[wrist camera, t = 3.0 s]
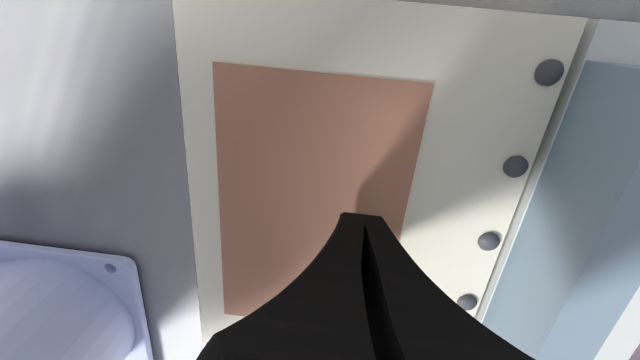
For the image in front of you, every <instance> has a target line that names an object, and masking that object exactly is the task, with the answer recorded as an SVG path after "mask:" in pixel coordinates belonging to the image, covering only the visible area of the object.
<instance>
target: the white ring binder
mask: <svg viewBox="0 0 640 360" xmlns="http://www.w3.org/2000/svg"><path fill="white" fill-rule="evenodd" d="M172 8H173V19H174V30H175V41H176V52H177V64H178V75H179V86H180V97H181V108H182V119H183V131H184V142H185V153H186V164H187V175H188V186H189V197H190V209H191V220H192V231H193V242H194V253H195V264H196V276H197V287H198V298H199V309H200V320H201V331H202V342H207V343H208V341H209V340H210V339H211V337H212V336H213V334H215V333H217V332H219V331H221V330H223V329H225V328H226V327H228V326H230V325H232V324H233V323H235V322H237V321H239V320H241V319H242V318H244V317H246V316H247V315H249V314H251V313H252V312H254V311H255V310H256V309H258V308H259V307H261V306H262V305H263V304H265V303H266V302H268V301H269V300H271V299H272V298H273V297H275V296H276V295H277V294H278V293H280V292H281V291H282V290H283V289H285V288H286V287H287V286H288V285H289V284H290V283H291V282H292V281H293V280H295V279H296V278H297V277H298V276H299V275H300V274H301V273H302V272H303V271H304V270H305V269H306V267H307V266H308V265H309V264H310V263H311V262H312V261H313V260H314V258H315V257H316V256H317V254H318V253H319V252H320V251H321V249H322V248H323V247H324V245H325V244H326V242H327V241H328V239H329V237H330V236H331V234H332V233H333V231H334V229H335V227H336V225H337V223H338V220H339V217H340V214H341V213H343V212H349V213H357V214H366V215H374V216H382V218H383V219H384V220H385V222H386V223H387V225H388V226H389V228H390V229H391V231H392V232H393V234H394V235H395V237H396V238H397V239H398V241H399V242H400V244H401V245H402V246H403V248H404V249H405V250H406V251H407V253H408V254H409V255H410V257H411V258H412V259H413V260H414V262H415V263H416V264H417V265H418V266H419V267H420V268H421V269H422V271H423V272H424V273H425V274H426V275H427V276H428V277H429V278H430V279H431V280H432V281H433V282H434V283H435V284H436V285H437V286H438V287H439V288H440V289H441V290H442V291H443V292H444V293H445V294H446V295H448V296H449V297H450V298H451V299H452V300H453V301H454V302H455V303H457V304H458V305H459V306H460V307H461V308H463V309H464V310H465V311H466V312H468V313H469V314H470V315H471V316H473V317H474V318H475V315H476V312H477V310H478V307H479V304H480V302H481V299H482V296H483V294H484V291H485V289H486V286H487V283H488V281H489V278H490V275H491V273H492V270H493V267H494V265H495V262H496V260H497V257H498V254H499V252H500V249H501V246H502V244H503V241H504V239H505V236H506V233H507V231H508V228H509V225H510V223H511V220H512V217H513V215H514V212H515V210H516V207H517V204H518V202H519V199H520V196H521V194H522V191H523V189H524V186H525V183H526V181H527V178H528V175H529V173H530V170H531V167H532V165H533V162H534V160H535V157H536V154H537V152H538V149H539V146H540V144H541V141H542V139H543V136H544V133H545V131H546V128H547V125H548V123H549V120H550V117H551V115H552V112H553V110H554V107H555V104H556V102H557V99H558V96H559V94H560V91H561V88H562V86H563V83H564V81H565V78H566V75H567V73H568V70H569V67H570V65H571V62H572V60H573V57H574V54H575V52H576V49H577V46H578V44H579V41H580V38H581V36H582V33H583V31H584V28H585V25H586V23H587V20H588V18H586V17H575V16H564V15H552V14H541V13H530V12H519V11H508V10H497V9H486V8H475V7H464V6H453V5H442V4H431V3H420V2H409V1H398V0H172Z"/></svg>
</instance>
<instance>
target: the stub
mask: <svg viewBox="0 0 640 360" xmlns="http://www.w3.org/2000/svg"><path fill="white" fill-rule="evenodd" d="M475 319H476V320H478V321H479V322H480V323H482V324H483V325H484V326H486V327H487V328H489V329H490V330H491V331H493V332H494V333H495V334H497V335H498V336H500V337H501V338H503V339H504V340H506V341H507V342H509V343H510V344H512V345H513V346H515V347H516V348H518V349H519V350H521V351H522V352H524V353H525V354H527V355H529V356H530V357H532V358H534V359H536V360H629V358H630V357H631V355H632V354H633V352H634V351H635V349H636V348H637V347H638V345H639V344H640V22H630V21H619V20H608V19H588V20H587V23H586V25H585V28H584V31H583V33H582V36H581V38H580V41H579V44H578V46H577V49H576V52H575V54H574V57H573V60H572V62H571V65H570V67H569V70H568V73H567V75H566V78H565V81H564V83H563V86H562V88H561V91H560V94H559V96H558V99H557V102H556V104H555V107H554V110H553V112H552V115H551V117H550V120H549V123H548V125H547V128H546V131H545V133H544V136H543V139H542V141H541V144H540V146H539V149H538V152H537V154H536V157H535V160H534V162H533V165H532V167H531V170H530V173H529V175H528V178H527V181H526V183H525V186H524V189H523V191H522V194H521V196H520V199H519V202H518V204H517V207H516V210H515V212H514V215H513V217H512V220H511V223H510V225H509V228H508V231H507V233H506V236H505V239H504V241H503V244H502V246H501V249H500V252H499V254H498V257H497V260H496V262H495V265H494V267H493V270H492V273H491V275H490V278H489V281H488V283H487V286H486V289H485V291H484V294H483V296H482V299H481V302H480V304H479V307H478V310H477V312H476V315H475Z"/></svg>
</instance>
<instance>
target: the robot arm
mask: <svg viewBox="0 0 640 360" xmlns="http://www.w3.org/2000/svg"><path fill="white" fill-rule="evenodd" d="M0 360H154V359H153V354H152V348H151V343H150V337H149V332H148V326H147V321H146V315H145V310H144V304H143V299H142V294H141V288H140V283H139V277H138V272H137V266H136V264H135V262H134V261H133V260H132V259H130V258H129V257H125V256H119V255H111V254H103V253H95V252H87V251H79V250H72V249H64V248H56V247H48V246H40V245H32V244H24V243H17V242H9V241H1V240H0ZM196 360H536V359H534V358H532V357H530V356H529V355H527V354H525V353H524V352H522V351H521V350H519V349H518V348H516V347H515V346H513V345H512V344H510V343H509V342H507V341H506V340H504V339H503V338H501V337H500V336H498V335H497V334H495V333H494V332H493V331H491V330H490V329H489V328H487V327H486V326H484V325H483V324H482V323H480V322H479V321H478V320H476V319H475V318H474V317H473V316H471V315H470V314H469V313H468V312H466V311H465V310H464V309H463V308H461V307H460V306H459V305H458V304H457V303H455V302H454V301H453V300H452V299H451V298H450V297H449V296H448V295H446V294H445V293H444V292H443V291H442V290H441V289H440V288H439V287H438V286H437V285H436V284H435V283H434V282H433V281H432V280H431V279H430V278H429V277H428V276H427V275H426V274H425V273H424V272H423V271H422V269H421V268H420V267H419V266H418V265H417V264H416V263H415V262H414V260H413V259H412V258H411V257H410V255H409V254H408V253H407V251H406V250H405V249H404V248H403V246H402V245H401V244H400V242H399V241H398V239H397V238H396V237H395V235H394V234H393V232H392V231H391V229H390V228H389V226H388V225H387V223H386V222H385V220H384V219H383V218H382V216H374V215H366V214H357V213H349V212H343V213H341V214H340V217H339V220H338V223H337V225H336V227H335V229H334V231H333V233H332V234H331V236H330V237H329V239H328V241H327V242H326V244H325V245H324V247H323V248H322V249H321V251H320V252H319V253H318V254H317V256H316V257H315V258H314V260H313V261H312V262H311V263H310V264H309V265H308V266H307V267H306V269H305V270H304V271H303V272H302V273H301V274H300V275H299V276H298V277H297V278H296V279H295V280H293V281H292V282H291V283H290V284H289V285H288V286H287V287H286V288H285V289H283V290H282V291H281V292H280V293H278V294H277V295H276V296H275V297H273V298H272V299H271V300H269V301H268V302H266V303H265V304H263V305H262V306H261V307H259V308H258V309H256V310H255V311H254V312H252V313H251V314H249V315H247V316H246V317H244V318H242V319H241V320H239V321H237V322H235V323H233V324H232V325H230V326H228V327H226V328H225V329H223V330H221V331H219V332H217V333H215V334H213V336H212V337H211V339H210V340H209V341H208V343H207V344H206V346H205V347H204V348H203V350H202V351H201V353H200V354H199V356H198V358H197V359H196Z"/></svg>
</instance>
